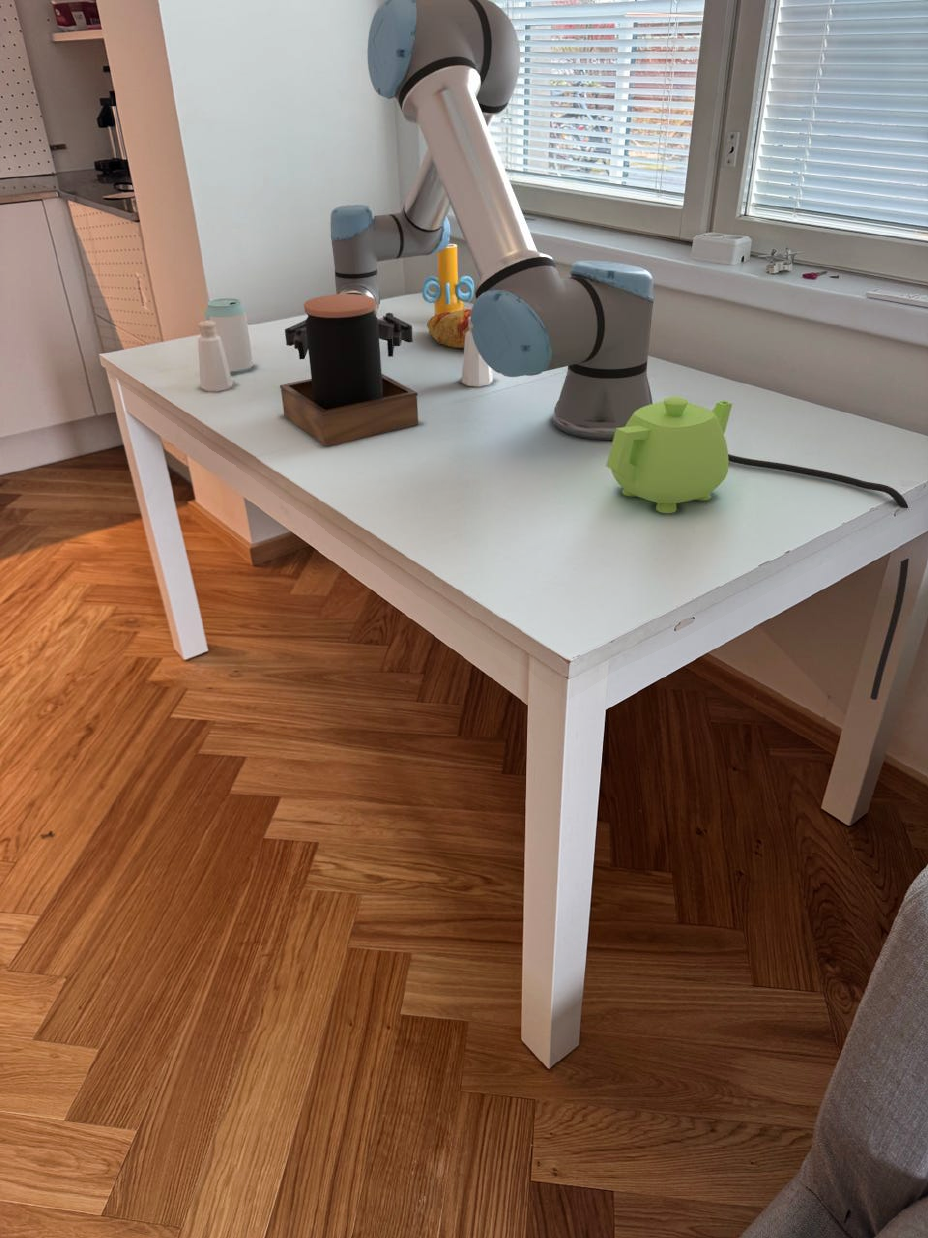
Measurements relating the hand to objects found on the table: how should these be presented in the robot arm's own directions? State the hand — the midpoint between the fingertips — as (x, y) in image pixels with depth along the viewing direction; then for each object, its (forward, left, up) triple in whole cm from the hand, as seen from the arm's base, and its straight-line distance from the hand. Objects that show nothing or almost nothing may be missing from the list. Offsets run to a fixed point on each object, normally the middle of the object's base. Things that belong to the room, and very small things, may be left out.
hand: (345, 349), depth 143 cm
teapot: (-51, -20, -11) cm, 56 cm away
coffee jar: (-2, +1, -11) cm, 11 cm away
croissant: (+24, -36, -11) cm, 45 cm away
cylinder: (+39, -42, -11) cm, 59 cm away
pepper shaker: (+2, -25, -11) cm, 27 cm away
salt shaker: (+26, +13, -11) cm, 31 cm away
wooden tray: (-2, +1, -10) cm, 11 cm away
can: (+34, +7, -11) cm, 37 cm away
